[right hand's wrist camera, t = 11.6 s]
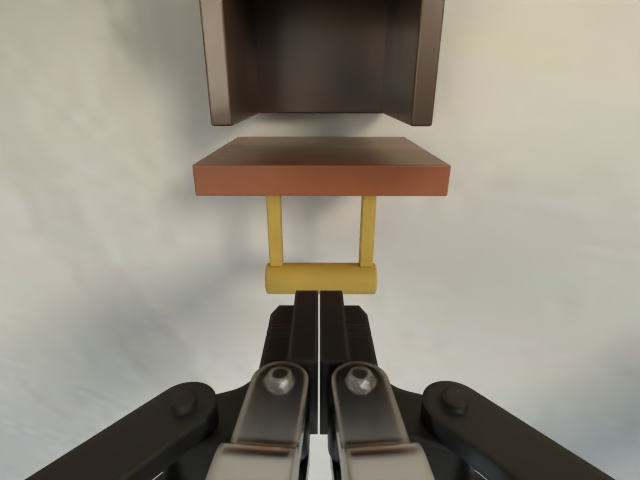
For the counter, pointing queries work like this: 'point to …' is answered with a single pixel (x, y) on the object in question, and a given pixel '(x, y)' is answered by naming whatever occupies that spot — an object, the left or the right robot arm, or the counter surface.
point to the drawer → (321, 97)
